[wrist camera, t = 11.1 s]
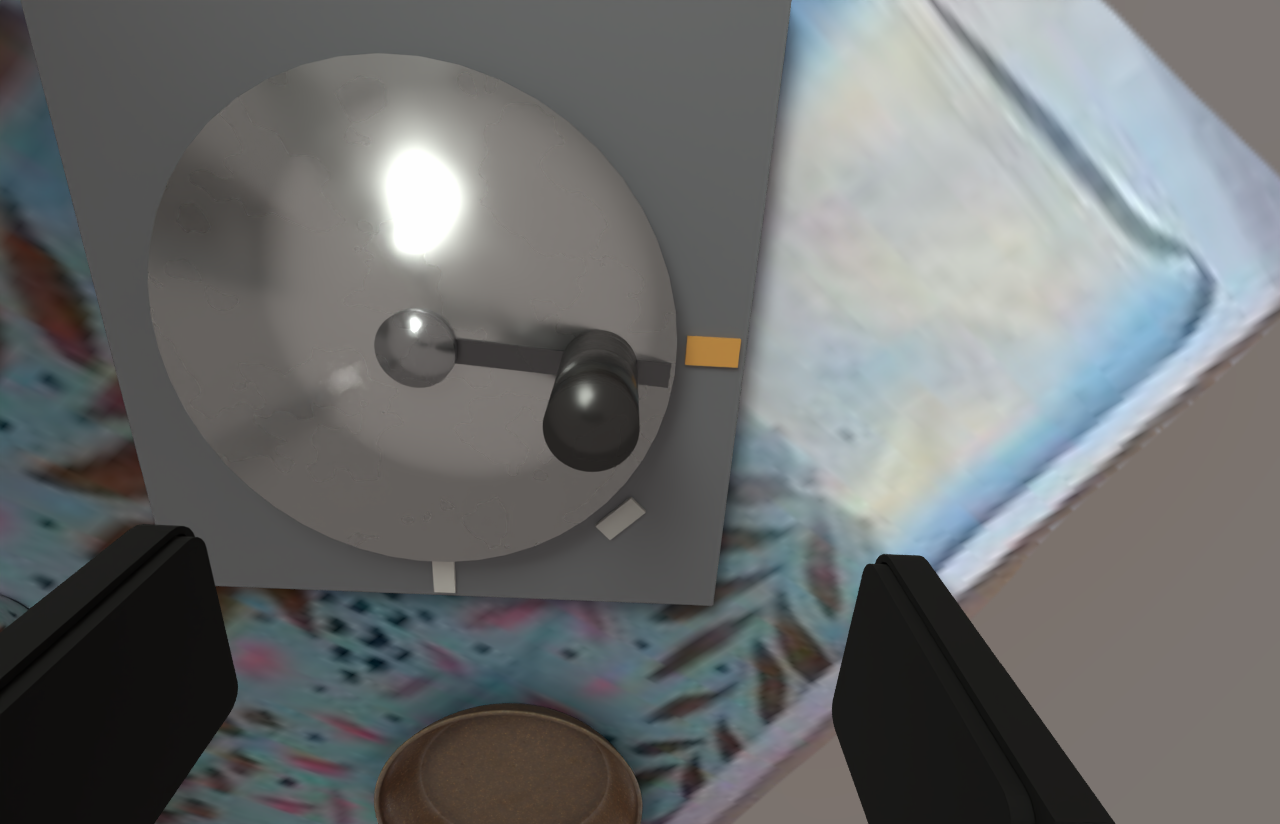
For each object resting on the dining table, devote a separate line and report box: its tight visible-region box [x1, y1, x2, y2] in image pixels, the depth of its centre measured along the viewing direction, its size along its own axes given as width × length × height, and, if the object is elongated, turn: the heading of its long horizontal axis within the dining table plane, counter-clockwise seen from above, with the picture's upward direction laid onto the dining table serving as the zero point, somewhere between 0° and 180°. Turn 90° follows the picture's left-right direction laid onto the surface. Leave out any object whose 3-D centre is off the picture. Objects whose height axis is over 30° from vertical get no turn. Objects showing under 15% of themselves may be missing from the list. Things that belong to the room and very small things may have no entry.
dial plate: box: [21, 0, 792, 606], centre depth 27 cm, size 26×26×2 cm
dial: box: [148, 53, 677, 562], centre depth 23 cm, size 20×20×7 cm
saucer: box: [374, 703, 642, 824], centre depth 37 cm, size 15×15×3 cm
